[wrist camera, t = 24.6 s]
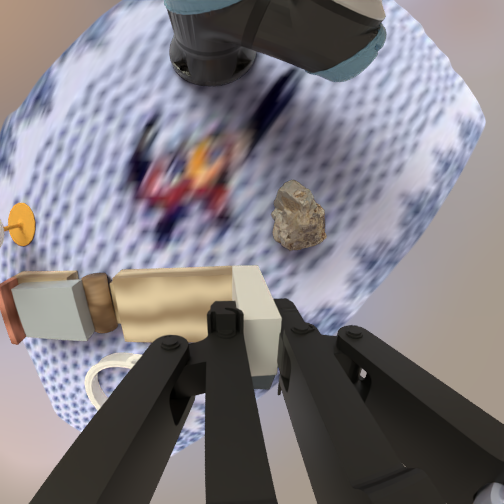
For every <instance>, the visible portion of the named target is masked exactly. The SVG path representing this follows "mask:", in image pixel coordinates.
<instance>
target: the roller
mask: <svg viewBox="0 0 504 504" xmlns="http://www.w3.org/2000/svg"><path fill="white" fill-rule="evenodd" d="M82 283H83V287H84V292H85V296H86V300H87V304H88V307H89V311H90V315H91V318H92V322H93V325H94V328H95V332H97V333H108V332H111V331H113V330H115V329H116V328H117V327H118V323H117V319H116V315H115V311H114V307H113V303H112V299H111V294H110V290H109V285H108V280H107V275H106V273H94V274H90V275H87V276H84V277H83V278H82Z"/></svg>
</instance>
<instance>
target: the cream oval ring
mask: <svg viewBox="0 0 504 504" xmlns="http://www.w3.org/2000/svg"><path fill="white" fill-rule="evenodd" d="M141 356H142V355H139V354H132V353H114V354H110V355H107V356H106V357H104V358H102V360H101V361H100V362H99V363H98V364H96V365H94V366H93V367H92V368H91V369H90V370H89V371H88V372H87V375H86V377H85V389H86V392H87V395H88V397H89V399H90V401H91V402H92V404H93V405H94V406H95V408H96V409H97V410H99V409H100V408H101V406H102V405H103V404H104V403H105V401H106V400H107V399H108V397H107V396H106V395H105V394H104V392H103V391H102V389H101V387H100V385H99V382H98V375H97V374H98V372H99V371H101V370H102V369H105V368H109V367H123V368H129V369H132V367H133V366H134V365H135V364H136V362H137V361H138V360H139V359H140V357H141Z"/></svg>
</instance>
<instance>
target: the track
mask: <svg viewBox="0 0 504 504" xmlns="http://www.w3.org/2000/svg"><path fill="white" fill-rule="evenodd" d="M112 279H113V281H112V282H111V283H110V289H111V294H112V300H113V305H114V310H115V315H116V319H117V323H119V324H121V326H122V330H123V334H124V338H125V342H153V341H154V340H156V339H157V338H159V337H162V336H164V335H178V336H182V337H184V338H185V339H187V341H188V342H199V341H201V340H203V339H205V338H206V337H207V336H208V330H207V313H208V311H209V310H210V306H211V305H212V304H213V303H214V302H215V301H232V266H214V267H188V268H159V269H125V270H121V271H120V272H119V273H118V274H117V275H116V276H114V277H113V278H112ZM61 280H78V273H77V271H22V272H21V273H19V274H17V275H15V276H13V277H11V278H10V279H8V280H6V281H4V282H2V283H1V284H0V310H1V313H2V317H3V320H4V323H5V326H6V329H7V332H8V335H9V337H10V340H11V343H12V344H16V345H18V344H19V343H20V342H21V341H22V340H23V339H24V338H25V337H26V334H25V331H24V329H23V326H22V323H21V320H20V317H19V314H18V311H17V308H16V305H15V301H14V298H13V294H12V291H11V289H12V288H14V287H16V286H17V285H19V284H21V283H23V282H43V281H61Z"/></svg>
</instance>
